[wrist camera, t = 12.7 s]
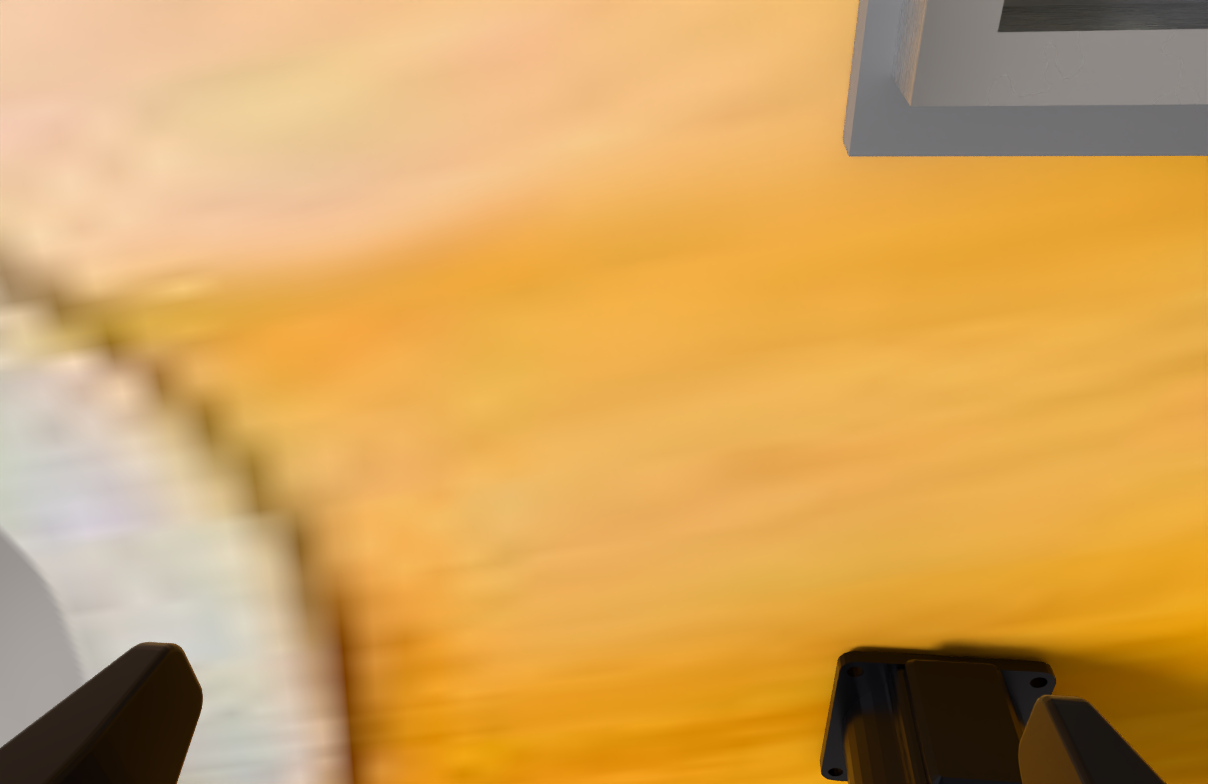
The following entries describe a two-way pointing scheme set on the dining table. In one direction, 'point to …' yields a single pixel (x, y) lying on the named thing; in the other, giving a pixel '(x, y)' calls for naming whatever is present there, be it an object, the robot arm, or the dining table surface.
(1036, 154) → the socket
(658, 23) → the dining table surface
